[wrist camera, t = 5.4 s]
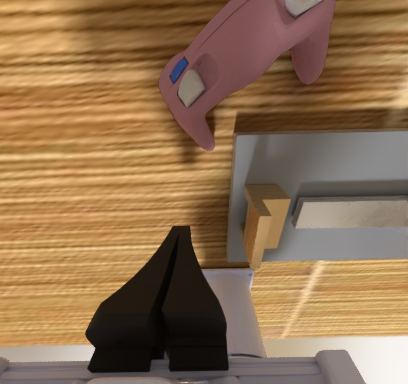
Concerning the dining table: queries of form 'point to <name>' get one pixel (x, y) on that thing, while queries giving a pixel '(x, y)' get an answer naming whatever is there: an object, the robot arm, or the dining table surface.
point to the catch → (263, 220)
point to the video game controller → (243, 55)
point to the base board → (321, 188)
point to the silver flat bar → (351, 212)
